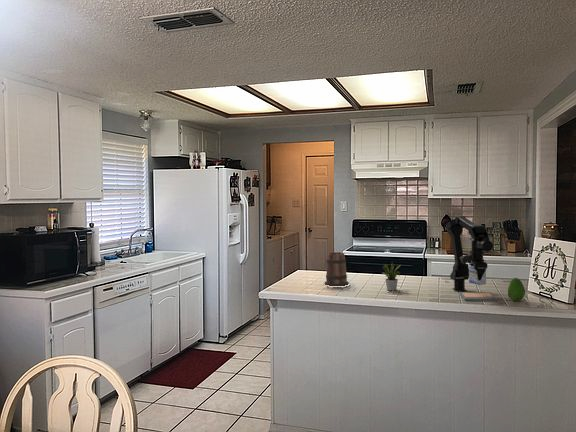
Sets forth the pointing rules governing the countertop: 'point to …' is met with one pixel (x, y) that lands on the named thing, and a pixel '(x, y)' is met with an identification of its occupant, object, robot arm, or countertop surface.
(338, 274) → the tankard
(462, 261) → the robot arm
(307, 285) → the countertop surface
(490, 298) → the mat
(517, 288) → the avocado
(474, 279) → the medicine box
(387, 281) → the house plant
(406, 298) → the countertop surface
